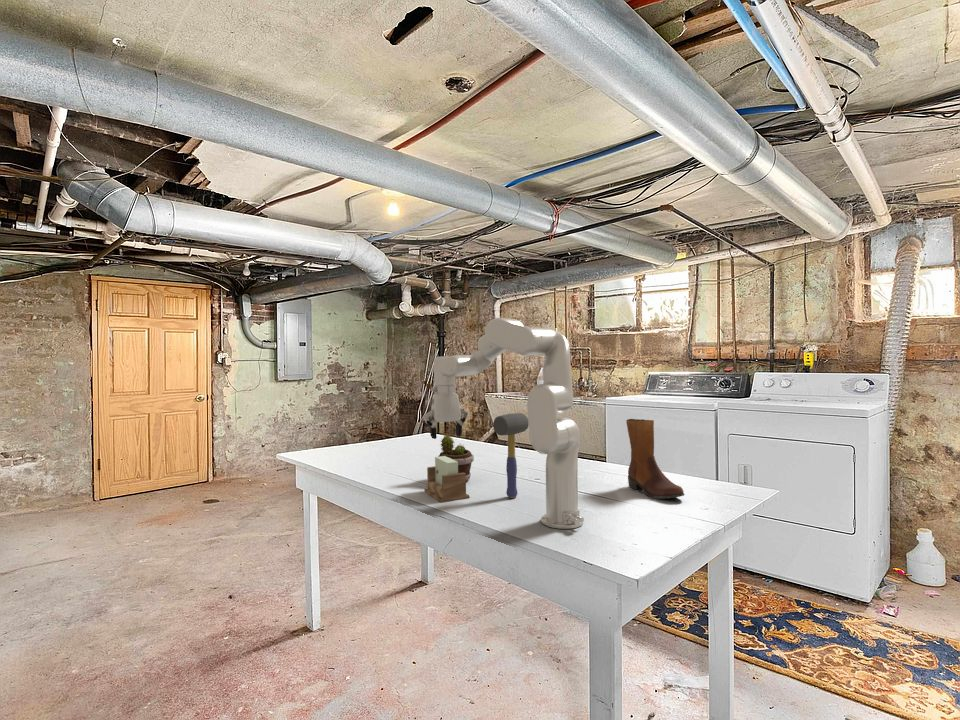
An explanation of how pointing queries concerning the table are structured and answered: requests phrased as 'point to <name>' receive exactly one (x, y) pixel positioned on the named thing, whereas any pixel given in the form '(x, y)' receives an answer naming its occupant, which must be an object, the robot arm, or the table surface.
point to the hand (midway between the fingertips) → (446, 437)
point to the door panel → (444, 468)
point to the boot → (647, 463)
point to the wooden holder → (447, 486)
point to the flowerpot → (457, 455)
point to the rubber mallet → (511, 444)
